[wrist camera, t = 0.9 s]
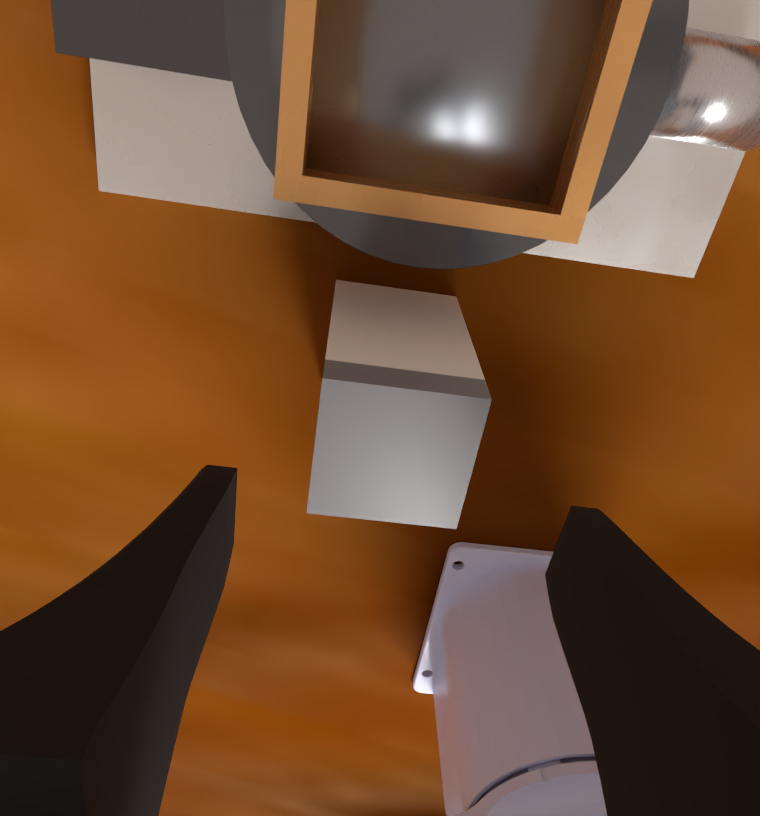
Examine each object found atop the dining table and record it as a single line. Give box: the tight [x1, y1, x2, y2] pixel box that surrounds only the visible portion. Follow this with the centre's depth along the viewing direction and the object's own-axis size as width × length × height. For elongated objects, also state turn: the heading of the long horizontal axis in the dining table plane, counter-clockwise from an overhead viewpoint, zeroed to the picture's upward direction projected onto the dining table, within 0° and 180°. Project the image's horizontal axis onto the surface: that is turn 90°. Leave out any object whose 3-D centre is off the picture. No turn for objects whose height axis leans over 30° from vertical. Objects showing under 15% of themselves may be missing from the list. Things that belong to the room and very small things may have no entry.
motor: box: [51, 0, 760, 278], centre depth 15 cm, size 11×18×5 cm, turn 81°
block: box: [307, 280, 492, 529], centre depth 19 cm, size 4×4×7 cm
